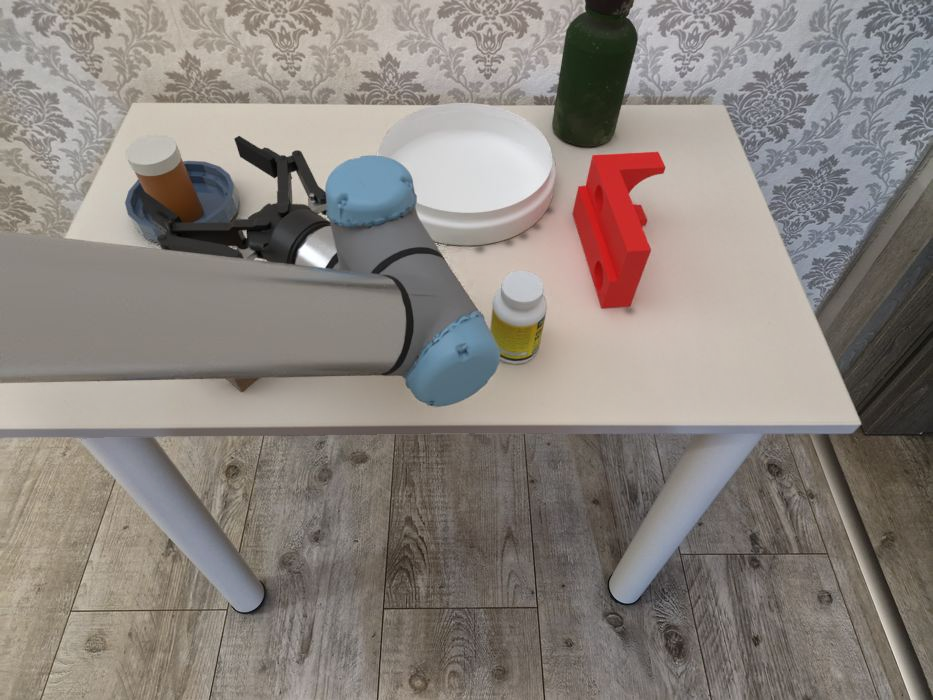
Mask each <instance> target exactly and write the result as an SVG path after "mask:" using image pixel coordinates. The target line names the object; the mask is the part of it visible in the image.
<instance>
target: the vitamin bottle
mask: <svg viewBox="0 0 933 700" xmlns="http://www.w3.org/2000/svg"><path fill="white" fill-rule="evenodd" d="M124 154H125V158H126V160H127V161H128V164H129V165H130V167H131V170H132V171H133V172H134V173H135V176H136V178H137V180H138V179H139V181H140V183H141V185H142V187H143V189H144V191H145V192H146V193H147V194H149V195H150V196H151V197H153V198H154V199H156V200H157V201H158V202H160V203H161V204H163V205H164V206H165V207H167V208H168V209H170V210H171V211H172V212H174V213H175V214H176V215H178V216H179V217H180V219H181V222H182V223H193V222H195V221H197V220H200V219H201V217H202V215H203V208H202V205H201V203H200V200H199V198H198V196H197V193H196V191H195V189H194V186H193V184H192V182H191V179H190V177H189V175H188V172H187V170H186V168H185V165H184V163H183V161H184V160H183V158H182V154H181V151H180V149H179V147H178V144H177V142H176V140H175V139H174V138H172V137H171V136H168V135H166V134H161V133H159V134H158V133H156V134H148V135H144V136H141V137H139V138H137V139H135V140H133V141H132V142H131V143H129V144H128V146H127V147H126V149H125V153H124Z"/></svg>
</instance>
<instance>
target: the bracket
mask: <svg viewBox="0 0 933 700" xmlns="http://www.w3.org/2000/svg"><path fill="white" fill-rule="evenodd" d="M666 169H667V167H666V165H665V163H664V160H663V158H662V156H661V154H660V152H659V151H644V152H626V153H625V152H624V153H608V154H605V153H604V154H592V156H591V159H590V165H589V169H588V173H587V176H586V177H587V178H586V181H585V185H578V186H577V190H576V196H575V201H574V206H573V210H572V217H573V221H574V224H575V227H576V230H577V234H578V237H579V239H580V243H581V246H582V250H583V253H584V256H585V261H586V262H587V266H588V269H589V272H590V276H591V279H592V282H593V286H594V288H595V292H596V295H597V299H598V302H599V305H600V308H601V309H612V308H613V309H614V308H626V307H631V306H632V303H633V301H634V297H635V295H636V292H637V289H638V287H639V285H640V281H641V279H642V277H643V273H644V271H645V267H646V265H647V262H648V260H649V257H650V254H651V252H652V249H651V246H650V244H649V241H648V239H647V236H646V234H645V230H644V228H643V226H646V225H647V222H648V218H647V216H646V214H645V211H644V209H643V205H642V204H636V203H635V204H634V203H633V200H632V198H631V195H630V193H631V191H632V190H633V189H634V188H635V187H637V185H638V184H640V183H642V182H643V181H644V180H646V179H649V178H651V177H653V176H658V175H663V174H664V173H665V171H666Z"/></svg>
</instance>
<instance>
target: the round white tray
mask: <svg viewBox="0 0 933 700" xmlns="http://www.w3.org/2000/svg"><path fill="white" fill-rule="evenodd" d="M375 156H383V157H387V158H391V159H393V160H396V161H397V162H399V163H401V164H402V165H403V166H404V167H405V168H406V169H407V170H408V171H409V173H410V174H411V176H412V179H413V185H414V191H415V194H416V195H417V203H416V212H417V215H418V217H419V219H420V221H421V222H422V224H423V226H424V227H425V229H426V230H427V232H428V233H429V235H430V237H431V238H432V240H433V241H434V243H440V244H443V245H452V246H465V247H466V246H483V245H489V244H495V243H499V242H502V241H505V240H508V239H511V238H514V237H516V236H518V235H520V234H522V233H524V232H526V231H527V230H528V229H530V228H532V227H533V226H534V225H535V224H536V223H538V222H539V220H540V219H542V217H543V216H544V215H545V213H546V212H547V210H548V209H549V207H550V205H551V202H552V199H553V195H554V191H555V190H554V189H555V185H556V184H555V183H556V178H557V168H556V162H555V159H554V156H553V153H552V149H551V146H550V144H549V142H548V140H547V138H546V137H545V135H544V134H543V132H541V131H540V129H539V128H538V127H536V126H535V124H533V123H532V122H531V121H529V120H528V119H526V118H524V117H522V116H521V115H518V114H517V113H514V112H512V111H510V110H507V109H504V108H501V107H497V106H493V105H489V104H483V103H475V102H451V103H443V104H442V103H441V104H436V105H433V106H428V107H425V108H421V109H419V110H416V111H413V112H412V113H410V114H408V115H406V116H404V117H403V118H401V119H400V120H398V121H397V122H396V123H394V124H393V125H392V126H391V127H390V128H389V129H388V130H387V131H386V133H385V134H384V136H383V137H382V139H381V141H380V144H379V147H378V150H377V152H376V154H375Z"/></svg>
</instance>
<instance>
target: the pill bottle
mask: <svg viewBox="0 0 933 700" xmlns="http://www.w3.org/2000/svg"><path fill="white" fill-rule="evenodd" d="M544 287H545V286H544V282H543V281H542V279H541V278H540V277H539V276H538V275H537V274H535V273H533V272H532V271H528V270H514V271H511V272H509V273H508V274H506V275H505V276H504V278H503V279H502V281H501V284H500V288H499V289H498V290H497V291H496V293H495V295H494V296H493V300H492V308H491V319H490V328H489V330H490V331H491V333H492V335H493V337H494V339H495V340H496V342H497V344H498V346H499V350H500V361H502V362H505V363H508V364H513V365H519V364H525V363H527V362H530V360H532V359H533V358H534V357H536V355H537V353H538V351H539V349H540V346H541V345H540V344H541V340H542V334H543V330H544V324H545V321H546V314H547V310H548V303H547V299H546V297H545V295H544V292H545V291H544V289H545V288H544Z"/></svg>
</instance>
